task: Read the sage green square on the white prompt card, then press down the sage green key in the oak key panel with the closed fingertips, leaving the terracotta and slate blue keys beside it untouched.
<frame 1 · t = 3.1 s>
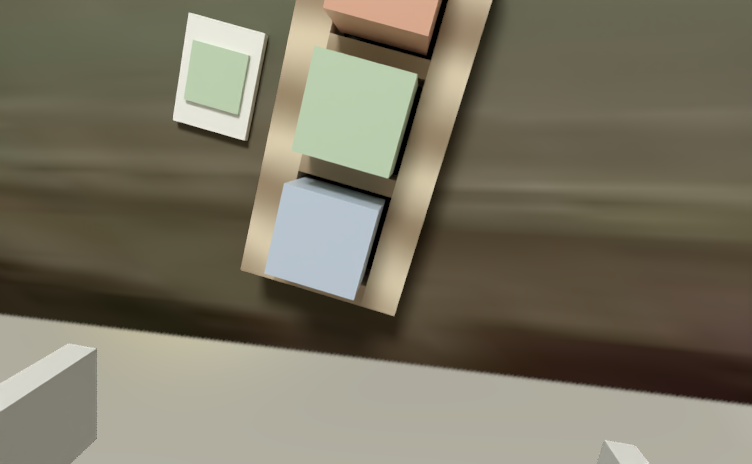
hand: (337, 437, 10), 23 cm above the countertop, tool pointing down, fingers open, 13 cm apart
key panel: (368, 121, 31), on the countertop
slate key: (328, 234, 28), point 5 cm above the countertop, slide at 0.0 cm
prompt card: (221, 79, 32), on the countertop
sage key: (358, 116, 26), point 5 cm above the countertop, slide at 0.0 cm
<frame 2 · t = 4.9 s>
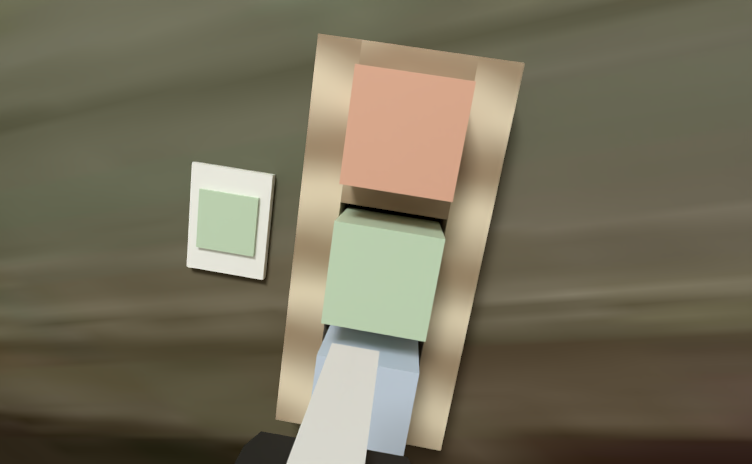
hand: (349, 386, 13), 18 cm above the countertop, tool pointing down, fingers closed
key panel: (388, 247, 30), on the countertop
terracotta key: (405, 135, 23), point 5 cm above the countertop, slide at 0.0 cm
slate key: (365, 385, 27), point 5 cm above the countertop, slide at 0.0 cm
prompt card: (231, 220, 31), on the countertop
sage key: (383, 269, 25), point 5 cm above the countertop, slide at 0.0 cm
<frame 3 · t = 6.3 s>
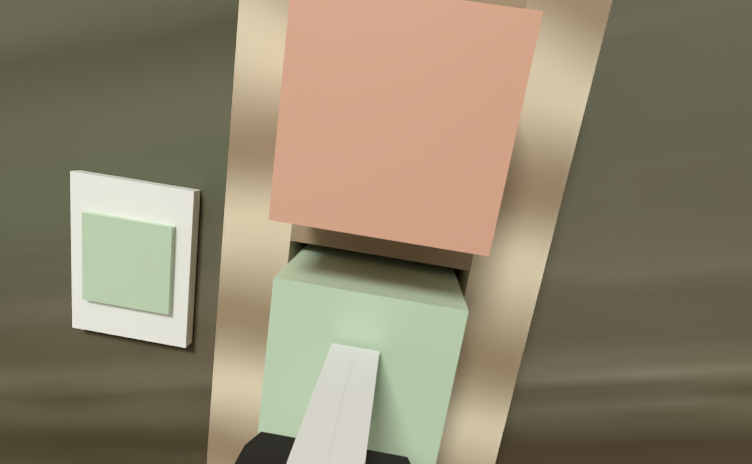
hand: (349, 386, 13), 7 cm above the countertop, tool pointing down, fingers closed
key panel: (374, 300, 20), on the countertop
terracotta key: (398, 127, 13), point 6 cm above the countertop, slide at 0.0 cm
prompt card: (138, 259, 20), on the countertop
sage key: (364, 344, 15), point 5 cm above the countertop, slide at 1.0 cm, touching gripper
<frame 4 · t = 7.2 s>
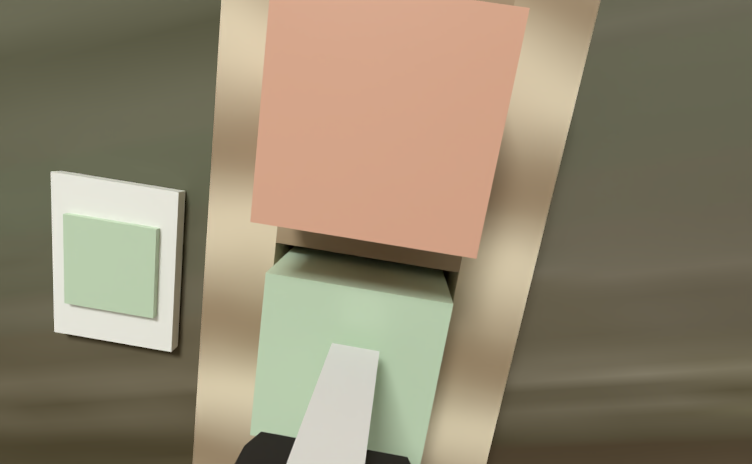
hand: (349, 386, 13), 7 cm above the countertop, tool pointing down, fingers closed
key panel: (363, 302, 20), on the countertop
terracotta key: (384, 127, 12), point 5 cm above the countertop, slide at 0.0 cm
prompt card: (121, 261, 20), on the countertop
sage key: (354, 338, 16), point 4 cm above the countertop, slide at 1.8 cm
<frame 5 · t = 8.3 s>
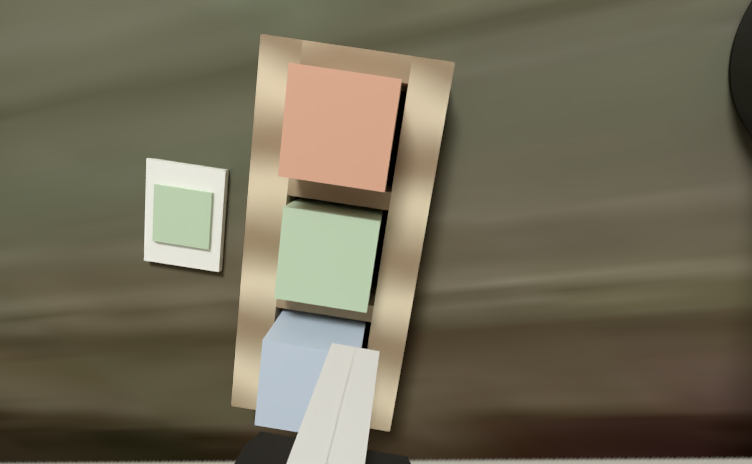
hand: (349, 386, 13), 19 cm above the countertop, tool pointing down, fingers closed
key panel: (339, 238, 31), on the countertop
terracotta key: (343, 130, 24), point 5 cm above the countertop, slide at 0.0 cm
slate key: (313, 369, 28), point 5 cm above the countertop, slide at 0.0 cm
prompt card: (187, 215, 32), on the countertop
sage key: (332, 250, 28), point 4 cm above the countertop, slide at 1.8 cm
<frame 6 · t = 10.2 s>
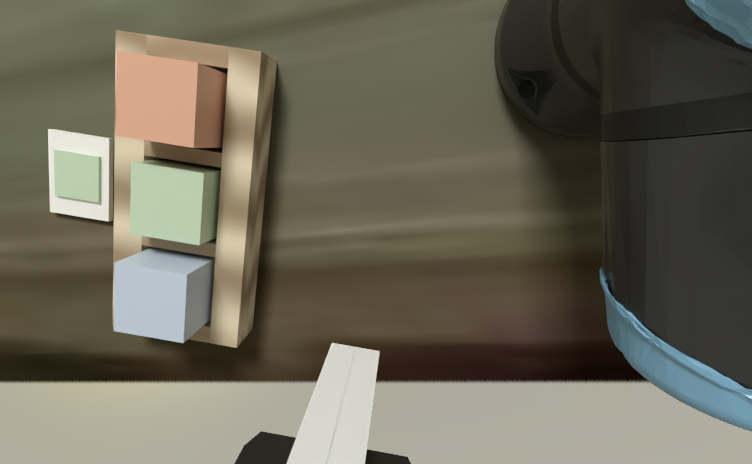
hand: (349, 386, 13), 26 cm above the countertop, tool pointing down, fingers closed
key panel: (203, 195, 39), on the countertop
terracotta key: (174, 103, 32), point 5 cm above the countertop, slide at 0.0 cm
slate key: (167, 292, 36), point 5 cm above the countertop, slide at 0.0 cm
prompt card: (83, 175, 40), on the countertop
sage key: (182, 200, 36), point 4 cm above the countertop, slide at 1.8 cm
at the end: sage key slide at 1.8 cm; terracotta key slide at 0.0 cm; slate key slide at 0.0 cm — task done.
